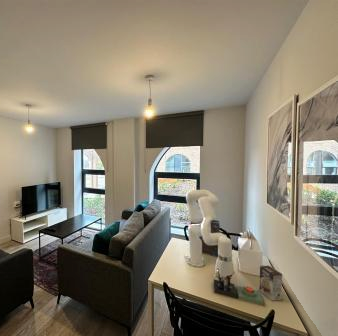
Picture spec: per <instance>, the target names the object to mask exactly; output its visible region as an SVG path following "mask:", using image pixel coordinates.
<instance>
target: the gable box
mask: <svg viewBox="0 0 338 336" xmlns="http://www.w3.org/2000/svg"><path fill="white" fill-rule="evenodd" d="M237 260H238V268H239V272H241V273H245V274H248V275H249V274H250V275H253V276H257V277H260V266H263V251H262V248H261V246H260V243H259V241H258V239H257V238H256V237H255V236H254V234H253V233H252V231H250V228H249V227H248V228H247V229H245V231H244V233H243V234H241V235H240V236H239V237H238V239H237Z"/></svg>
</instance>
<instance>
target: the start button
mask: <svg viewBox="0 0 338 336" xmlns="http://www.w3.org/2000/svg"><path fill="white" fill-rule="evenodd" d="M244 287H245V291H247V292H249V293H253V289H254V288H253V287H251V286H250V285H246V286H244Z"/></svg>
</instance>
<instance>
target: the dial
mask: <svg viewBox="0 0 338 336" xmlns="http://www.w3.org/2000/svg"><path fill="white" fill-rule="evenodd" d="M223 281H224V287H223V288H228V278H227V277H226V276H224V277H223Z"/></svg>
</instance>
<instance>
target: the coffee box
mask: <svg viewBox="0 0 338 336" xmlns="http://www.w3.org/2000/svg"><path fill="white" fill-rule="evenodd" d="M282 288H283V274H282V272H280V271H278V270H277V269H275V268H273V267H272V266H270V265H262V266H260V276H259V292H261V293H262V294H264V296H266V297H267V298H268V299H269V300H270V301H280V300H282V292H283V291H282Z"/></svg>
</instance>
